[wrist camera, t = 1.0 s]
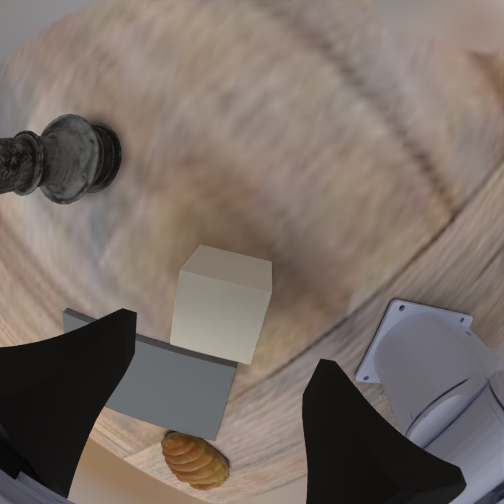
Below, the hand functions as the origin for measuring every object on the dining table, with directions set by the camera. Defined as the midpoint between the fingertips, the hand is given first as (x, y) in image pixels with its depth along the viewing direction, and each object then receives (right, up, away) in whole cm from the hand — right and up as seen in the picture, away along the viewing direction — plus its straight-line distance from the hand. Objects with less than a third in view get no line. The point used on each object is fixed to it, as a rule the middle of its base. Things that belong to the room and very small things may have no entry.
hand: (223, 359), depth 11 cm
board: (-9, -8, +14) cm, 18 cm away
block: (-1, +2, +10) cm, 10 cm away
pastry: (-5, -19, +18) cm, 27 cm away
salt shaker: (-11, +11, +8) cm, 17 cm away
